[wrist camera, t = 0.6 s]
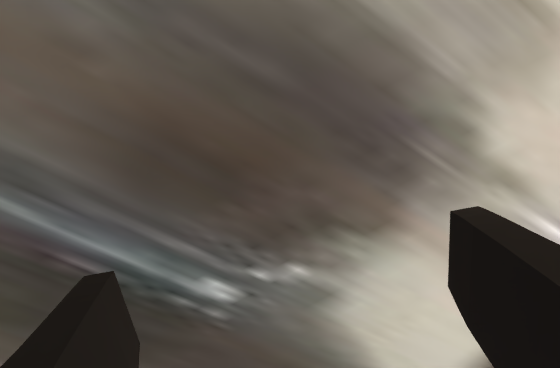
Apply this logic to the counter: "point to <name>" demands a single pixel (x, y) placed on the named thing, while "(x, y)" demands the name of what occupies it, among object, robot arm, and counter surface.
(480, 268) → the robot arm
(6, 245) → the counter surface
